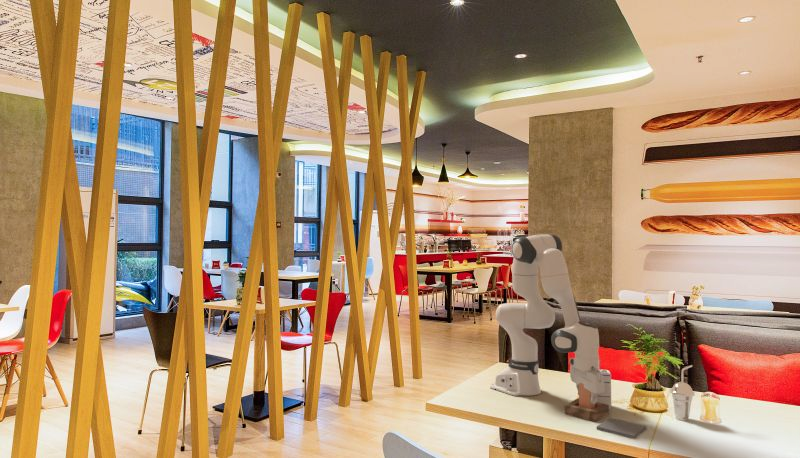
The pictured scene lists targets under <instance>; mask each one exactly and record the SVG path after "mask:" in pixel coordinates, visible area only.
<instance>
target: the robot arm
mask: <svg viewBox="0 0 800 458" xmlns="http://www.w3.org/2000/svg"><path fill="white" fill-rule="evenodd" d="M561 240H562V239H560V237H559V236H558V235H556V234H551V233H547V234H544V233H543V234H540V233H539V234H534V235H528V236H521V237H518V238H516V239H515V240H514V241H513V242H512V244H511V245H512V246H511V253H512V256H513V260H512V266H511V267H512V268H511V269H512V270H511V273H512V276H511V278H512V279H511V282H512V283H511V284H512V285H511V287H512V290H513V292H514V293H515V294H516V295H518V296H519V297H522V298H523V299H525V301H526V302H524V303H523V302H507V303H506V302H505V303H500V304H499V305H498V306H497V308H496V310H495V320H496V322H497V323H498V325H499V326H500V327H501V328H503V329H504V330H505V331H506V332H507V333H506V334H508V336H509V339H510V343H511V357H510V358H509V359H507V360H506V363H508V365H507V366H506V367H505V368H503V369H502V370H501V371H499V372H498V373H497V374H496V376H495V380H494V382H492V383H491V384H490V386H489V387H490V388H489V389H493V390H495V389H496V390H495V391H498V392H501V393H505V394H507V395H510V396H514V397H515V396H516V397H518V396H525V397H526V396H536V395H540V394H541V393H542V390H541V386H540V381H539V359H538V352H539V351H538V341H537V340H536V339H535V338H534V337H532V336H530V335H529V334H527V333H525V332H524V330H525V329H536V330H537V329H539V330H541V329H547V328H551V327H552V326H553V325H554V323H555V321H556V313H555V310H554V309H553V307H552V306H551V305H549V304H548V303H547V302H546V301H545V300H544V298H543V297H542V296H541V293H540V287H539V275H540V282H541V285H542V289H543V292H544V293H545V294H546V295H547V296H548V297H550V298H552V299H553V300H555V301H556V302H557V303H558V304H559V306H560V308H561V312H562V317H563V319H564V327H562V328H559V329H556V330H555V331H554V332H553V333H552V334H551V337H550V338H551V339H550V340H551V341H550V342H551V345H552V347H553V348H554V350H555V351H556V352H559V353H560V354H561V353H563V354H566V353H574V354H575V355H574V357H572V358H569V362H568V363H569V364H570V365H569V366H570V367H569V373H570V375H569V376H570V381H571V382H572V383H574V384H575V385H576V386H575V387H576V390H577V396H579V383H583V384H584V388H585V389H587V390H588V391H590V392H591V395H592V396H591V398H590V403H592V404H596V399H597V396H598V395H601V394H603V393H604V379H603V375H602V374H601V373H600V370H599V368H600V355H599V348H600V335H599V329H598V326H597V325H596V324H594V323H593V322H590V321H583V320H581V317H580V313H579V309H578V306H577V301H576V298H575V295H574V292H573V290H572V286H571V285H572V284H571V281H570V276H569V270H568V266H567V262H566V259H565V257H564V253H563V252H562V250H563V244H562V241H561Z"/></svg>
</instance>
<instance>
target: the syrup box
mask: <svg viewBox="0 0 800 458" xmlns="http://www.w3.org/2000/svg"><path fill="white" fill-rule="evenodd" d="M599 370H600V373H601V374H602V375H603V379H604V393H603V394H601V395H598V396H597V399H596V402H599V403H603V404H607V405H609V410H612V374H611V372H610V370H608V369H599Z"/></svg>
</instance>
